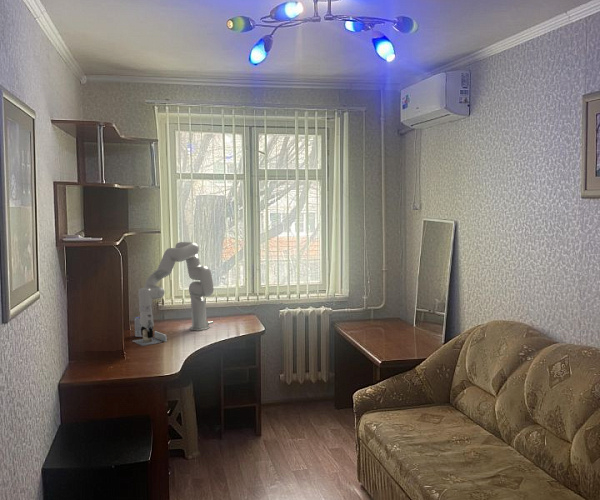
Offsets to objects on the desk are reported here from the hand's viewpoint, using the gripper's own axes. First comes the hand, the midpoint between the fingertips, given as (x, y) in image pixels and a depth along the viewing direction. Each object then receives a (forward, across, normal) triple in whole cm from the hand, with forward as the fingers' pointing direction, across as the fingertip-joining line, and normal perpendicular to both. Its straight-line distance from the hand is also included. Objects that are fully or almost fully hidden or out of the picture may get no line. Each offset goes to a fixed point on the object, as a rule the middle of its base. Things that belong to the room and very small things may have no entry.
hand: (147, 336), depth 358 cm
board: (+4, 0, 0) cm, 4 cm away
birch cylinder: (+3, 0, 0) cm, 3 cm away
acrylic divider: (+4, 0, -8) cm, 9 cm away
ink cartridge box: (+4, +17, -5) cm, 18 cm away
